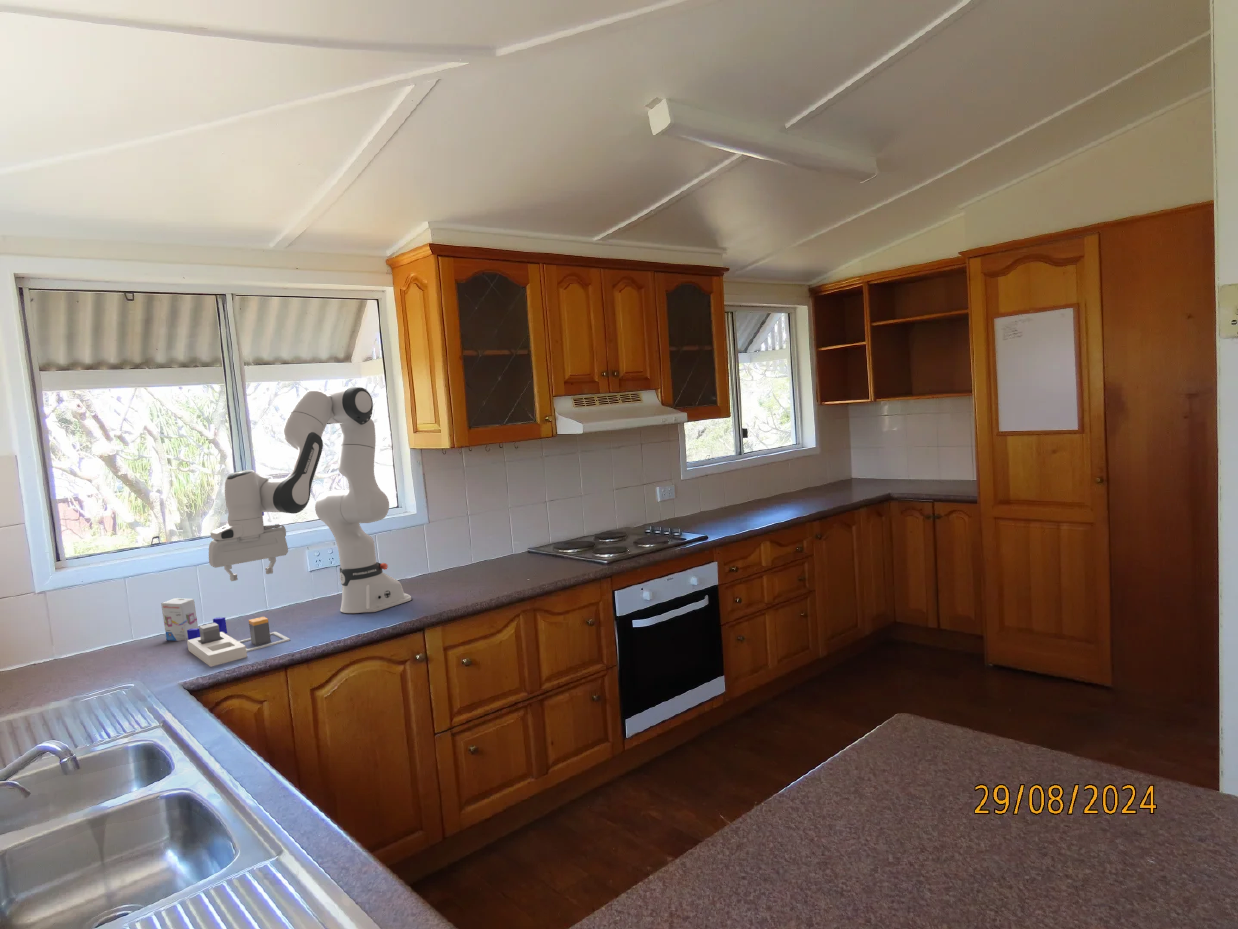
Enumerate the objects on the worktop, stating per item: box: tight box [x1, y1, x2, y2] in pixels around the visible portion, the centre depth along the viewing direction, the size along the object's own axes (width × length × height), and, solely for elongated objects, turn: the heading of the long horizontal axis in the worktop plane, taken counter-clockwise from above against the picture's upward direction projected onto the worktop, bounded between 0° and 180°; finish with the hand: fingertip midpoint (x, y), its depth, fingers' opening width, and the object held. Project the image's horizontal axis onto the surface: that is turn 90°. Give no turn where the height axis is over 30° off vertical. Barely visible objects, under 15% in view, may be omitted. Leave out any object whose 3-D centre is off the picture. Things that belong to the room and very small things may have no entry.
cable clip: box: [187, 616, 228, 640], centre depth 225 cm, size 12×4×6 cm, turn 169°
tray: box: [237, 631, 291, 653], centre depth 218 cm, size 12×12×1 cm
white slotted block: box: [186, 632, 248, 668], centre depth 210 cm, size 9×22×4 cm, turn 42°
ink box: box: [160, 597, 199, 642], centre depth 232 cm, size 9×5×12 cm, turn 70°
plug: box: [248, 616, 272, 646], centre depth 218 cm, size 4×4×7 cm
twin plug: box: [198, 622, 221, 644], centre depth 214 cm, size 4×4×7 cm
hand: (252, 577), depth 216 cm, fingers open, 8 cm apart
